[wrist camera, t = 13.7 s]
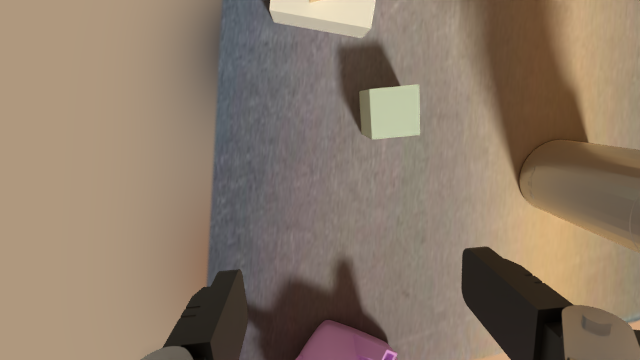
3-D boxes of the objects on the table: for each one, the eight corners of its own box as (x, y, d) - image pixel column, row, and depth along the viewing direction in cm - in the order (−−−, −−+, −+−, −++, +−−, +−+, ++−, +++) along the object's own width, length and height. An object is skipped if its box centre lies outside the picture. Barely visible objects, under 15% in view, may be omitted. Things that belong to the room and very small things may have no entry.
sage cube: (401, 87, 37) (419, 84, 31) (402, 130, 38) (420, 134, 33) (358, 91, 37) (369, 89, 31) (361, 134, 38) (372, 139, 32)
